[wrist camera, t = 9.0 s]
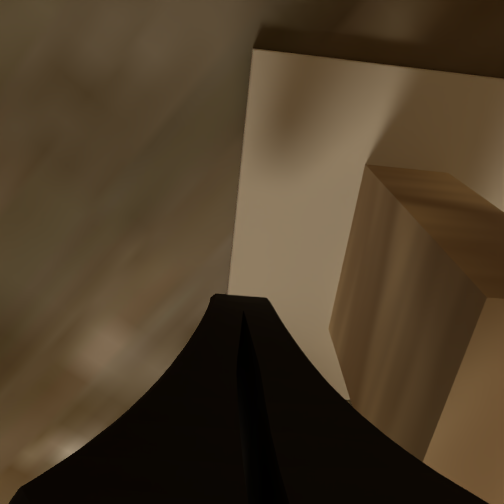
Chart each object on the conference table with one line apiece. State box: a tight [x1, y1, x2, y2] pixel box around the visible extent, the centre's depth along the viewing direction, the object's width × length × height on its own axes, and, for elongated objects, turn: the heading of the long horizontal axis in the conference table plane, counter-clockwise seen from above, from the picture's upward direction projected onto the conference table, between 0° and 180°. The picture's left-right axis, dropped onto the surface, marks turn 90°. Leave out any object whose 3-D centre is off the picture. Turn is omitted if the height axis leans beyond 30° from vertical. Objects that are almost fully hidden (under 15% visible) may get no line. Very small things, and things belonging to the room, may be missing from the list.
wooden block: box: [328, 164, 504, 504], centre depth 12 cm, size 3×6×8 cm, turn 174°
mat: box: [227, 48, 504, 400], centre depth 16 cm, size 14×12×1 cm
